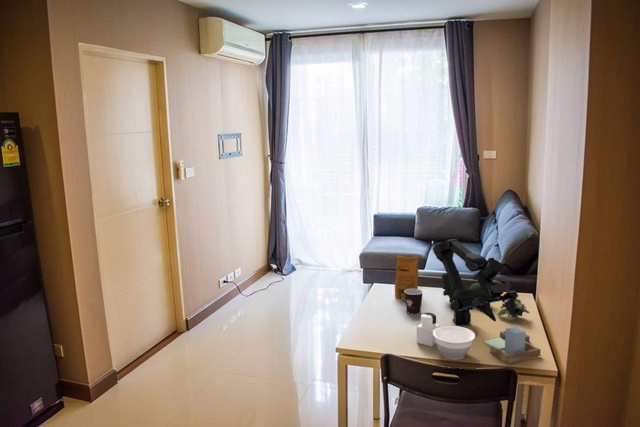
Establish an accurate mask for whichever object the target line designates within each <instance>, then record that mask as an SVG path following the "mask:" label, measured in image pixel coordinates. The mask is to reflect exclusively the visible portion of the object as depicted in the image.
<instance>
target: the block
mask: <svg viewBox="0 0 640 427" xmlns="http://www.w3.org/2000/svg"><path fill="white" fill-rule="evenodd" d="M525 334H526V331H525V330H523V329H522V328H520V327H518V326H512V327H508V328H505V349H504V352H505V353H507V354H508V355H511V354H516V353H520V352H525V351H526V350H525Z"/></svg>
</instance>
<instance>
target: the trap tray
mask: <svg viewBox="0 0 640 427" xmlns="http://www.w3.org/2000/svg"><path fill="white" fill-rule="evenodd" d="M499 338H501V339H503V340H505V331H500V332H499ZM525 341H526V342H530V335H528V334H526V333H525Z"/></svg>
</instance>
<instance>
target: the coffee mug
mask: <svg viewBox="0 0 640 427" xmlns="http://www.w3.org/2000/svg"><path fill="white" fill-rule="evenodd" d="M423 292H424V291H423V290H421V289H419V288H418V289H407V290H405V291H404V292H403V291H401V292H400V293H399V296H400V298H401V301H402V302H403V303H404V304H405V307H406V313H408V312H409V313H408V314H410V313H413V314H412V315H418V314H421V308H422V301H423V300H422V299H423ZM401 293H404V294H405V299H402V297H401V295H400V294H401ZM417 313H418V314H417Z"/></svg>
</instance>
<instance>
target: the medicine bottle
mask: <svg viewBox="0 0 640 427" xmlns="http://www.w3.org/2000/svg"><path fill="white" fill-rule="evenodd" d="M438 327H441V325H440V324H439V323H437V315H436V314H435V313H432V312H424V313H423V312H422V314H421V315H420V324H419V325H417V326H416V343H418V344H421V345H425V346H428V347H431V348H432V347H434V346H435V345H437V344H436V340H435V337H434V336H433V331H434V330H435V329H436V328H438Z"/></svg>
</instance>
